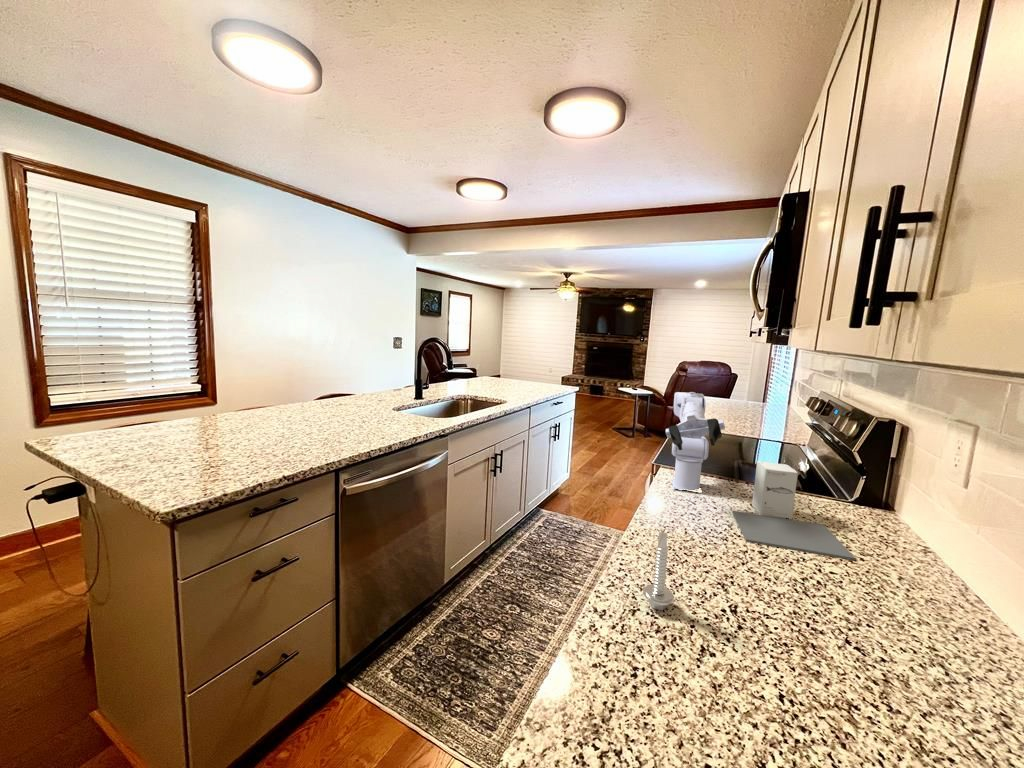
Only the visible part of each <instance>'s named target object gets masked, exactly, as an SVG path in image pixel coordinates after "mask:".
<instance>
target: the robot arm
mask: <svg viewBox="0 0 1024 768" xmlns="http://www.w3.org/2000/svg"><path fill="white" fill-rule="evenodd" d="M673 397H674V398H673V414H674V415H675V416H676V417H678V418H679V420H680V422H679V423H678V424H677V423H676V424H675V425H671V426H669V427H668V428H665V435H666V437H667V439H671V442H672V443H671V455H672V456H673V457H675V465H674V466H675V467H674V476H673V478H674V481H672V480H671V485H672V484H673V486H672V489H673V488H674V489H673V490H675V489H683V490H684V489H685V490H686V489H688V490H695V489H699V488H700V486H701V474H702V463H703V462H704V461H706V460H707V459H708V457H709V451H710V450H709V448H710V447H709V446H710V445H711V446H712V447H713V446H715V445H716V443H717V441H718V440H719V439H721V438H722V435H723V433H722V431H724V430H726V427H725V422H724V419H717V418H706V417H705V413H706V407H707V406H706V403H707V402H706V398H705V395H704V394H703V393H698V392H697V393H696V392H694V391H690V392H682V391H681V392H680V391H679V392H678V391H676V392H674V395H673ZM707 435H708V437H709V438H708V439H709V440H708V439H707V438H706V436H707ZM709 441H710V442H709ZM709 443H710V445H709ZM678 487H679V488H678Z"/></svg>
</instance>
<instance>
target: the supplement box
mask: <svg viewBox="0 0 1024 768" xmlns="http://www.w3.org/2000/svg"><path fill="white" fill-rule="evenodd" d="M798 474H799V472H798V471H796V470H795V469H794V468H793V467H791V466H790V465H788V464H786V463H785V464H784V463H775V462H767V461H760V460H759V461H756V467H755V478H754V485H753V494H752V495H753V496H752V504H753V505H752V506H753V507H754V508H756V509H755V510H756V512H757V513H758V515H765V516H771V517H778V518H784V519H786V518H789V519H791V520H793V515H794V507H795V499H796V498H795V497H796V490H797V482H798Z"/></svg>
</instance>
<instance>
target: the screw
mask: <svg viewBox="0 0 1024 768" xmlns="http://www.w3.org/2000/svg"><path fill="white" fill-rule="evenodd" d="M667 543H668V534H667V533H666V532H664V531H661V532H658V541H657V545H656V546H655V547H656V549H655V557H654V558H655V560H654V561H655V563H654V565H655V566H654V569H653V572H654V573H653V575H654V576H653V583H651V584H648V585H646V586H644V587H643V590H642V594H643V596H644V597H645V599H647V601H648V604H649V606H650V607H651V608H652V609H654V610H657V611H664V610H665V609H666V608H667V606H668V605H671V604H673V603H674V601H675V595H674V593H673V592H672V591H671V590H670V589H669V588H667V587H666V579H667V578H666V577H667V574H666V573H667V565H668V564H667V563H668V552H669V551H668V546H667Z"/></svg>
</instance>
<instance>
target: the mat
mask: <svg viewBox="0 0 1024 768" xmlns="http://www.w3.org/2000/svg"><path fill="white" fill-rule="evenodd" d="M731 512H732V515H733V517H734V519H735V522H736V523H737V526H738V528H739V530H740V532H741V535H742V536H743V537H744V540H745V542H748V543H753V544H760V545H765V546H771V547H777V548H782V549H787V550H794V551H798V552H803V553H805V552H806V553H811V554H815V555H823V556H828V557H833V558H839V559H845V560H851V561H856V557H855V556H854V555H853V554H852V553H851V551H849V549H847V548H846V546H845V545H844V544H843V543H842V542H841V541H840V540H839V539H838V538H837V537H836V536H835V535H834V534H833V532H831V530H829V529H830V528H828V527H827V526H826V525H825V524H822V523H817V522H816V523H815V522H809V521H801V520H796V519H786V518H779V517H773V516H765V515H760V514H759V513H758V514H756V513H752V512H751V513H750V512H745V511H744V512H743V511H739V510H738V511H737V510H732V511H731Z"/></svg>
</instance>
